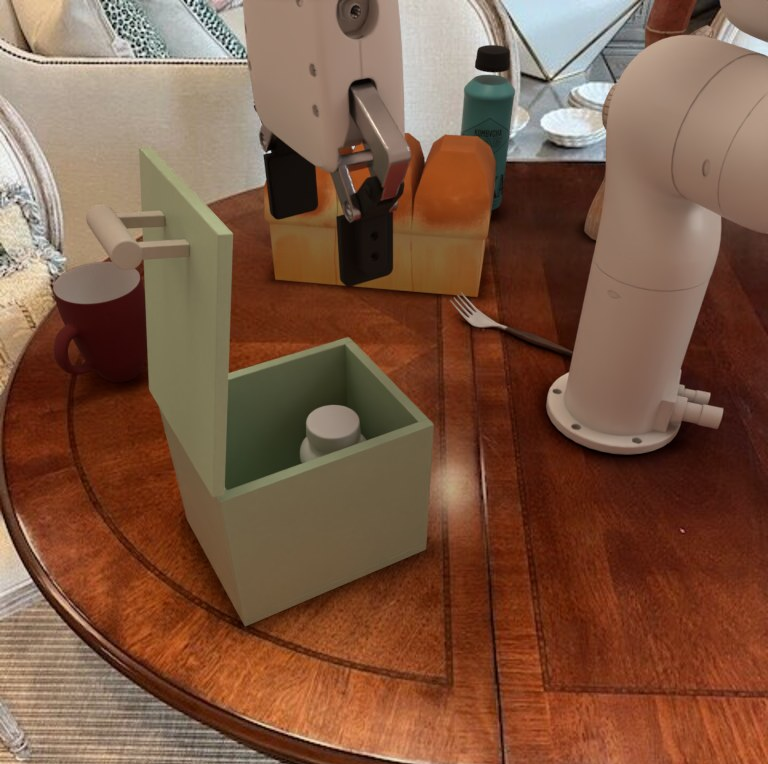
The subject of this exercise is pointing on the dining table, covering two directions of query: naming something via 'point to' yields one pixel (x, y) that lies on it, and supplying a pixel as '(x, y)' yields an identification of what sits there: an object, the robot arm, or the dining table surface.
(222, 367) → the lid
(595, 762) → the dining table surface
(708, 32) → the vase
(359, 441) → the pill bottle
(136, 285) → the mug
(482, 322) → the fork
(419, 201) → the bread
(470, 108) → the beverage bottle
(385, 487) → the caddy
